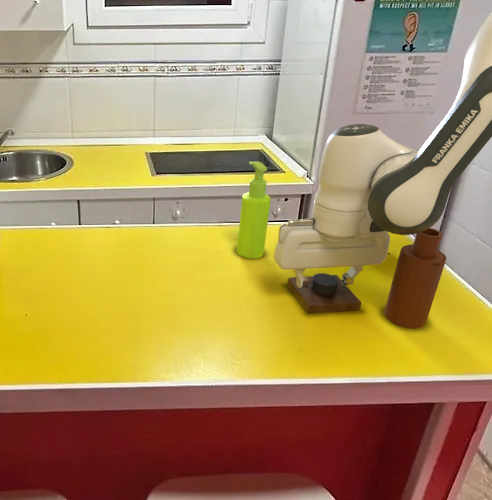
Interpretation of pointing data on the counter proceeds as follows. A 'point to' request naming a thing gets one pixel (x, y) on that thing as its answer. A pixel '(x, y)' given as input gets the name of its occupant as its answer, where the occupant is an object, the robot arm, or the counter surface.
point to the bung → (324, 284)
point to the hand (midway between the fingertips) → (324, 284)
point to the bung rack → (324, 298)
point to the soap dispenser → (254, 216)
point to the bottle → (415, 280)
